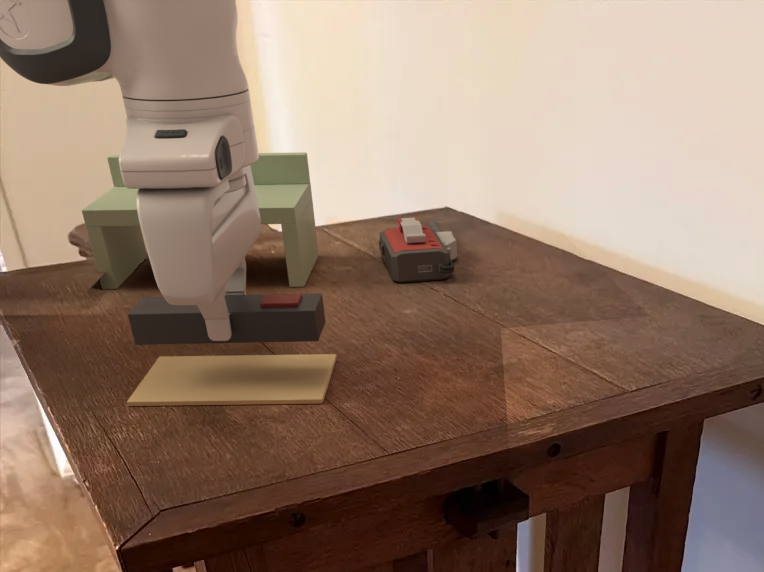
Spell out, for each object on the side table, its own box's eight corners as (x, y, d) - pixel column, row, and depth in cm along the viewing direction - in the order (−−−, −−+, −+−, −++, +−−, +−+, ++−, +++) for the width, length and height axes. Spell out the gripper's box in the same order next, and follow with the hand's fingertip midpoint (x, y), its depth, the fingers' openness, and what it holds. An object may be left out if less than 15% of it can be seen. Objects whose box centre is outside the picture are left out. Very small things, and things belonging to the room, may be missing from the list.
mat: (127, 406, 75) (126, 401, 74) (160, 360, 83) (159, 356, 82) (322, 403, 75) (322, 399, 74) (337, 358, 83) (336, 353, 82)
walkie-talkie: (472, 281, 100) (441, 234, 115) (471, 238, 97) (439, 196, 113) (392, 287, 99) (371, 238, 114) (390, 244, 96) (368, 200, 111)
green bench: (102, 289, 99) (73, 178, 92) (134, 257, 109) (110, 154, 102) (304, 286, 99) (290, 175, 92) (318, 255, 109) (307, 152, 102)
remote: (135, 345, 74) (126, 310, 73) (150, 326, 78) (142, 292, 76) (318, 341, 74) (314, 306, 73) (325, 322, 78) (321, 289, 76)
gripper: (186, 115, 75) (219, 287, 84) (109, 166, 59) (159, 372, 68) (263, 114, 75) (287, 286, 84) (206, 164, 59) (243, 371, 68)
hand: (229, 325), depth 76 cm, fingers closed on remote, 4 cm apart
